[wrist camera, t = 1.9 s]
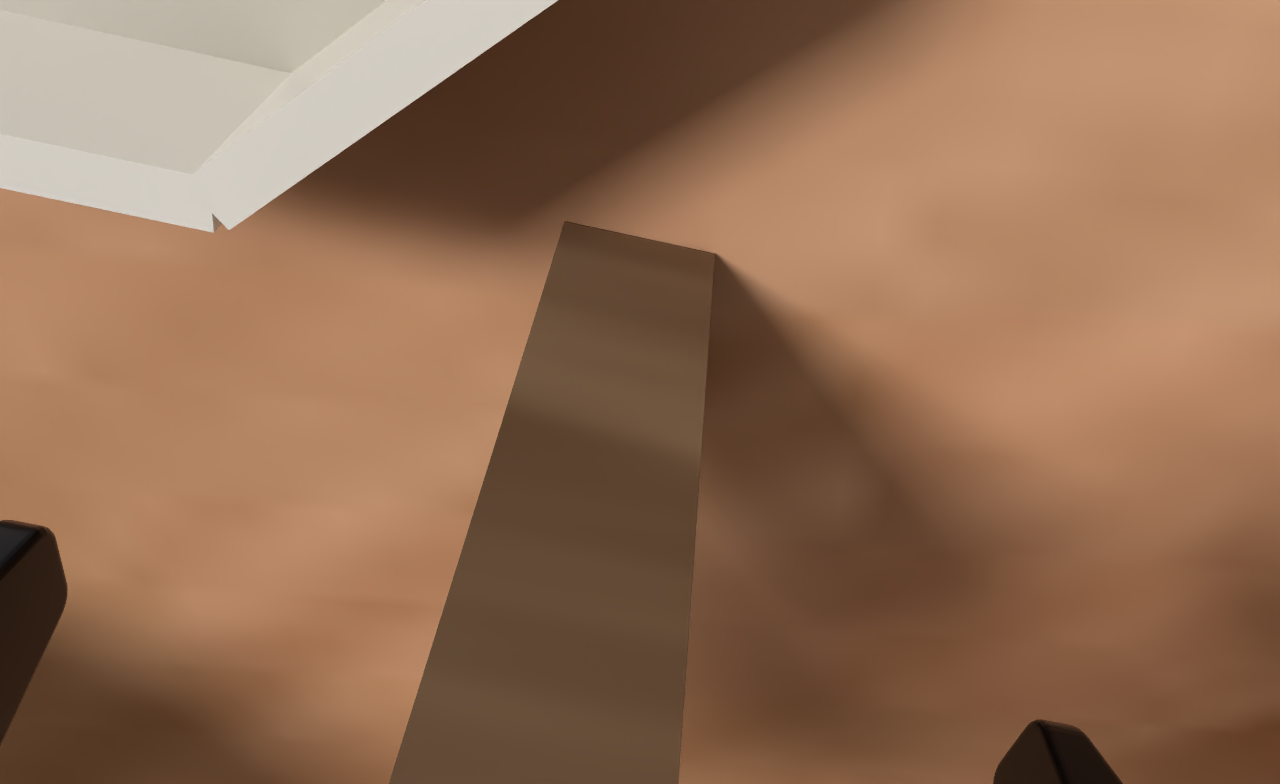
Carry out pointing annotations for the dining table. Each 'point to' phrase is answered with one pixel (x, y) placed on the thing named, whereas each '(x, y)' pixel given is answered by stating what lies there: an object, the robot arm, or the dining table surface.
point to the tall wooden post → (580, 537)
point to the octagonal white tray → (215, 93)
